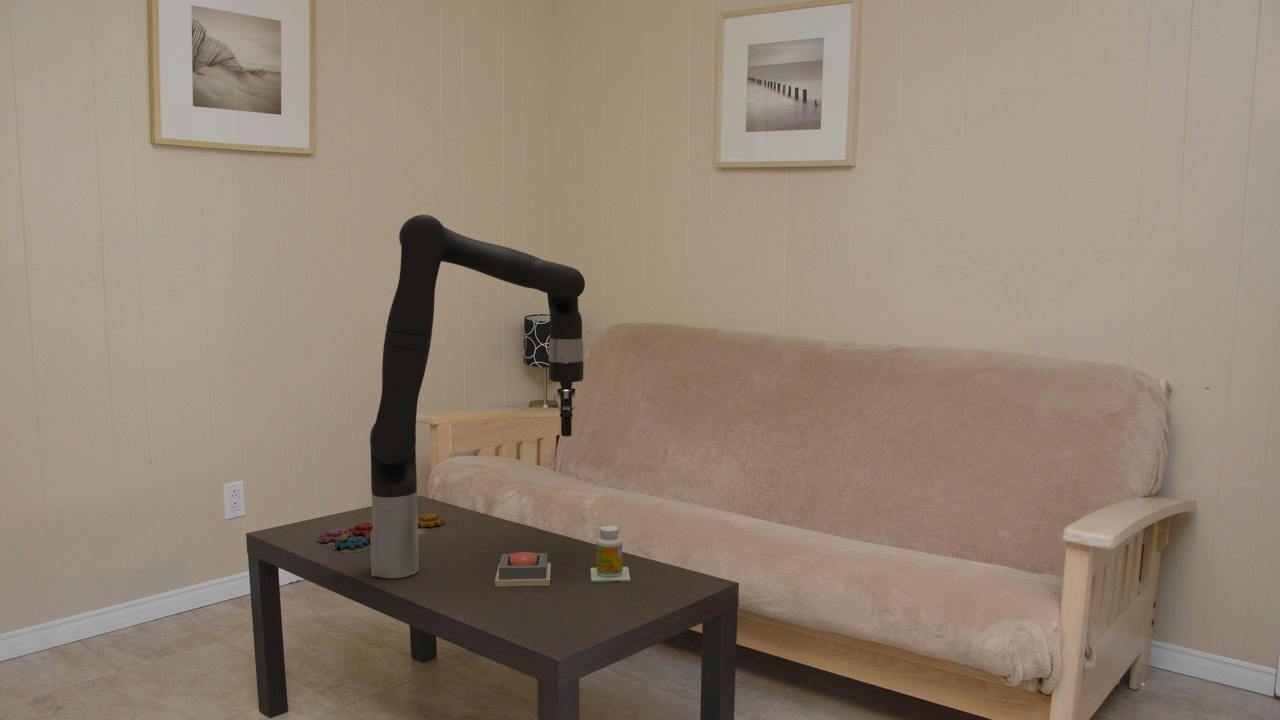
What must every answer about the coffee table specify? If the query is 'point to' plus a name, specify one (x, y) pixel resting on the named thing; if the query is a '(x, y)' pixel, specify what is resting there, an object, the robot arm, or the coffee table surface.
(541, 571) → the dome console
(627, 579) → the mat
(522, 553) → the dome button
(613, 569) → the supplement bottle
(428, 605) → the coffee table surface
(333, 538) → the gear puzzle
